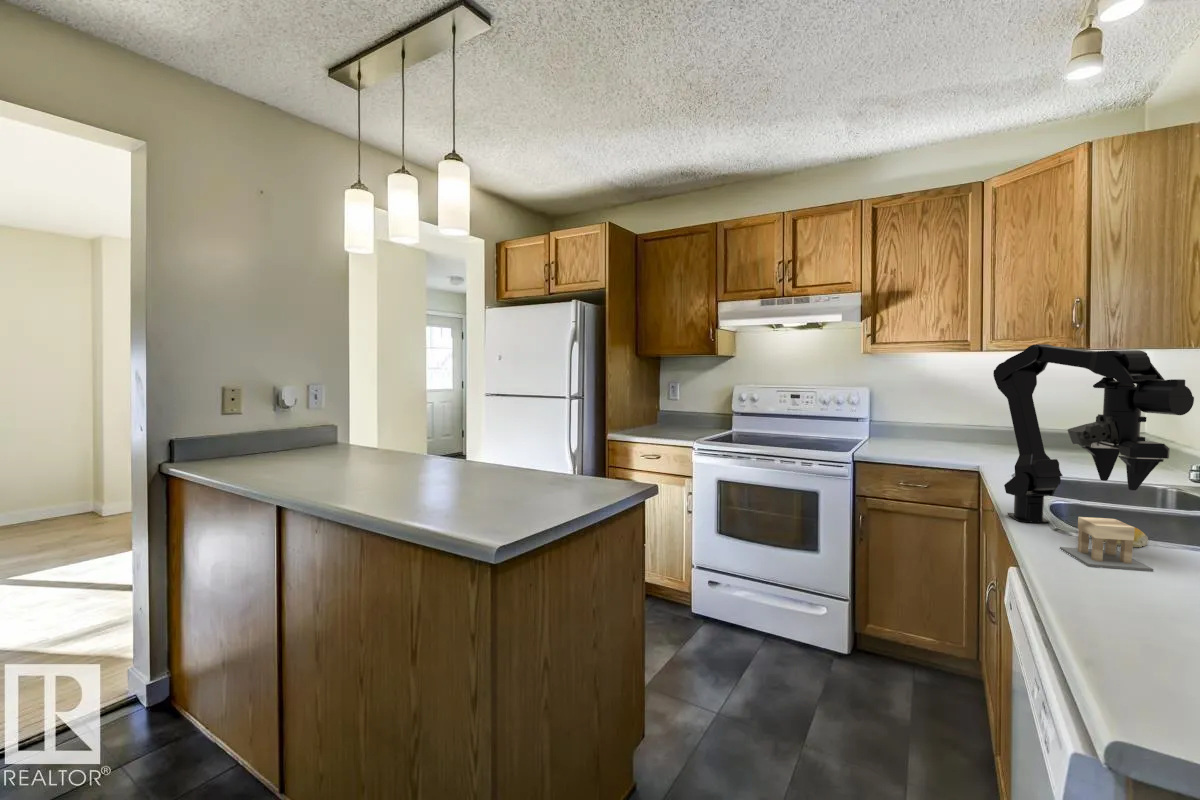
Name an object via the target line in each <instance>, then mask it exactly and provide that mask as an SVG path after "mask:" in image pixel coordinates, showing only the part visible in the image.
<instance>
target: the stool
mask: <svg viewBox="0 0 1200 800" xmlns="http://www.w3.org/2000/svg"><path fill="white" fill-rule="evenodd" d="M1132 526H1133V525H1130V524H1127V523H1124V522H1123V521H1121V520H1118V519H1116V518H1106V517H1105V518H1104V517H1087V516H1078V519H1077V530H1078V535H1077V537H1078V538H1077V548H1078V551H1079V552H1080V553H1088V549H1089V544H1090V537H1091V536H1092V537H1091V549H1092V553H1091V559H1093V560H1094V561H1103V550H1105V553H1106V554H1108V555H1116V551H1117V547H1118V546H1117V540H1121V546H1120V550H1119V551H1120V561H1121V562H1123V563H1131V564H1132V558H1133V541H1134V532H1135V528H1136V527H1135V526H1133V527H1132ZM1134 527H1135V528H1134ZM1090 535H1091V536H1090ZM1104 539H1106V541H1105V543H1103V542H1104ZM1104 544H1105V545H1104ZM1104 546H1105V547H1104Z"/></svg>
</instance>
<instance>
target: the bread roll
mask: <svg viewBox="0 0 1200 800" xmlns="http://www.w3.org/2000/svg"><path fill="white" fill-rule="evenodd" d="M1131 526H1132V527H1134V528H1135V532H1134V541H1133V547H1139V548H1143V547H1142V546H1144V547H1145V546H1147V545H1148V542H1149V537H1148V536H1147V535H1146V534H1145V533H1144V532H1143V531H1142V530H1140V529H1139V528H1138V527H1135V526H1133V525H1131ZM1089 537H1091V538H1092V536H1091V535H1089ZM1105 541H1106V539H1104V542H1105ZM1117 545H1121V540H1117Z"/></svg>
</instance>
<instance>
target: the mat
mask: <svg viewBox="0 0 1200 800" xmlns="http://www.w3.org/2000/svg"><path fill="white" fill-rule="evenodd" d="M1060 549H1061V550H1060ZM1059 550H1060V551H1062V550H1063V551H1062V552H1064V551H1065V552H1066V553H1065V552H1064V553H1065V554H1067V553H1068V554H1067V555H1069V554H1070V555H1071V556H1070V555H1069V556H1070V557H1072V556H1073V557H1075V558H1077V559H1078V560H1080V561H1081V562H1080V561H1079V562H1080V563H1082V564H1083V563H1084V564H1083V565H1085V564H1086V565H1085V566H1087V567H1088V566H1091V567H1090V568H1100V567H1103V569H1104V568H1105V569H1114V570H1115V569H1116V570H1129V571H1141V570H1142V571H1143V572H1154V568H1153V567H1151V566H1150V565H1147V564H1145V563H1143V562H1141V561H1139V560H1137V559H1135V558H1133V557H1132V564H1131V563H1123V562H1121V561H1120V550H1116V555H1108V554H1106V553H1105V549H1103V561H1094V560H1093V559H1091V553H1092V548H1088V553H1080V552H1079V551H1078V547H1068V546H1065V547H1064V546H1059ZM1073 557H1072V558H1073ZM1075 558H1074V559H1075ZM1077 559H1076V560H1077ZM1078 560H1077V561H1078Z"/></svg>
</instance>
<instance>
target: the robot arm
mask: <svg viewBox="0 0 1200 800" xmlns="http://www.w3.org/2000/svg"><path fill="white" fill-rule="evenodd" d="M1048 364H1055V365H1063V366H1070V367H1076V368H1083V369H1087V370H1089V371H1091V372H1092V373H1094V374H1096V375H1099V376H1102V377H1101V379H1100V380H1099V381H1098V382H1096V383H1094V384H1093V385H1092V387H1093V389H1103V403H1102V404H1103V408H1102V414H1101V413H1100V414H1097V415H1096V417H1095V421H1093V422H1089V423H1085V424H1081V425H1078V426H1074V427H1069V428H1067V432H1068V436H1069V438H1070V441H1071V443H1072V444H1073V445H1079V446H1080V447H1081V448H1082V449H1083V450H1085V451H1086V452H1087V453H1089V454H1090V455H1091V457H1092V460H1093V462H1094V464H1095V468H1096V470H1097V473H1098V477H1099V479H1100V481H1105V482H1106V481H1108V480H1109V478H1110V476H1111V474H1112V471H1113V469H1114V466H1115V464H1116V462H1117V460H1118V458H1119V459H1120V460H1121V461H1122V462H1123V463H1124V464H1125V468H1126V481H1127V487H1128V490H1129V491H1137V490H1138V488H1140V486H1141V485H1142V484H1143V482H1144V481H1145V480H1146V478H1147V477H1148V476H1149V474H1150V473H1152V471H1153V470H1154V469H1155V468H1156V467H1157V466H1158V465H1159V464H1160V463H1162V462H1164V460H1165V459H1167V460H1168V459H1170V451H1171V450H1170V448H1169V446H1168V445H1166V444H1165V443H1162V442H1157V441H1148V440H1147V441H1146V437H1145V436H1141V423H1147V418H1148V417H1147V416H1143V415H1142V412H1143V413H1145V414H1158V415H1173V416H1184V415H1186V414H1188V413H1189V412H1190V411H1191V409H1192V408H1193V406H1194V403H1195V396H1194V395H1193V392H1192V391H1191V389H1190V388H1189V387H1188V386H1186V380H1185V379H1183V378H1180V379H1179V378H1177V379H1173V378H1172V379H1171V378H1170V379H1165V377H1163V376H1162V374H1160V372H1159V371H1158V370H1157V368H1156V367H1155V366H1154V365H1153V363H1152V361H1151V358H1150V356H1149V355H1148V353H1147V352H1146V351H1144V350H1141V349H1139V350H1138V349H1137V350H1136V349H1134V350H1132V349H1131V350H1129V349H1126V350H1125V349H1124V350H1123V349H1122V350H1121V349H1119V350H1117V349H1116V350H1091V349H1090V350H1088V349H1082V348H1072V347H1066V346H1063V347H1062V346H1055V345H1052V344H1047V343H1045V344H1043V343H1041V344H1040V343H1039V344H1032V345H1030V346H1027V348H1025V349H1024V350H1023V351H1021V352H1018V353H1017V354H1015V355H1013V356H1011V357H1009V358H1007V359H1006V360H1005V361H1003V362H1001V363H999V364H998V365H996V367H995V369H994V370H993V378H994V382H995V384H996V387H997V389H998V390H999V391H1000V392H1001V394H1002V395H1003V396H1004V397H1006V399H1007V402H1008V407H1009V412H1010V413H1009V414H1010V416H1011V421H1012V422H1011V423H1012V426H1013V431H1014V434H1015V435H1014V436H1015V440H1016V444H1017V445H1016V447H1017V448H1018V449H1017V450H1018V458H1017V460H1016V462H1015V465H1014V476H1013V477H1012V478H1011V479H1010V480H1008V481H1007V482H1005V484H1004V485H1003V486H1004V490H1005V493H1006V494H1008V495H1011V496H1013V497H1014V498H1013V500H1014V501H1013V512H1007V516H1009V517H1011V518H1012V519H1014V520H1016V521H1017V522H1020V523H1021V522H1023V523H1034V524H1035V523H1036V524H1037V523H1038V524H1039V523H1040V524H1050V523H1051V521H1050V520H1048V519H1046V518H1044V509H1045V508H1044V506H1045V505H1044V504H1045V503H1044V501H1045V497H1053V496H1054V493H1055V492H1056V490H1057V488H1058V487H1059V485H1060V484H1061V480H1062V479H1061V477H1063V473H1062V472H1061V469H1060V462H1059V460H1058V459H1057V458H1055V459H1054V458H1053V459H1051V457H1049V455H1048V454H1047V453H1046V451H1045V447H1044V443H1043V439H1042V433H1041V429H1040V425H1039V421H1038V416H1037V411H1036V407H1035V402H1034V399H1033V394H1034V391H1035V390H1036V387H1037V384H1038V380H1037V379H1038V378H1037V376H1038V375H1040V374H1041V373H1042V372H1044V371H1045V370H1046V368H1047V366H1048Z"/></svg>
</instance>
